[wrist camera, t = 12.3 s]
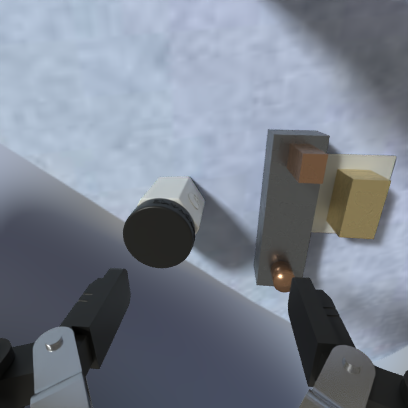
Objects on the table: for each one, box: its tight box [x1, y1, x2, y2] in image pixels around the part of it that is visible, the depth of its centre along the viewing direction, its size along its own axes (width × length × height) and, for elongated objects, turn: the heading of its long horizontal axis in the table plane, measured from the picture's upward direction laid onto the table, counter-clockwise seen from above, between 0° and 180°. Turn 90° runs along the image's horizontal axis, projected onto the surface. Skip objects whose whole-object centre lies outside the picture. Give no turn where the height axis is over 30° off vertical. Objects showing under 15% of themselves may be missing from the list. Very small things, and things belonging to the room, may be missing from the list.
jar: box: [123, 176, 205, 268], centre depth 35 cm, size 9×8×12 cm
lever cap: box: [326, 169, 391, 239], centre depth 36 cm, size 8×4×5 cm, turn 179°
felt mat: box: [311, 154, 396, 233], centre depth 38 cm, size 12×10×1 cm
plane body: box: [254, 129, 330, 292], centre depth 35 cm, size 22×6×11 cm, turn 179°
